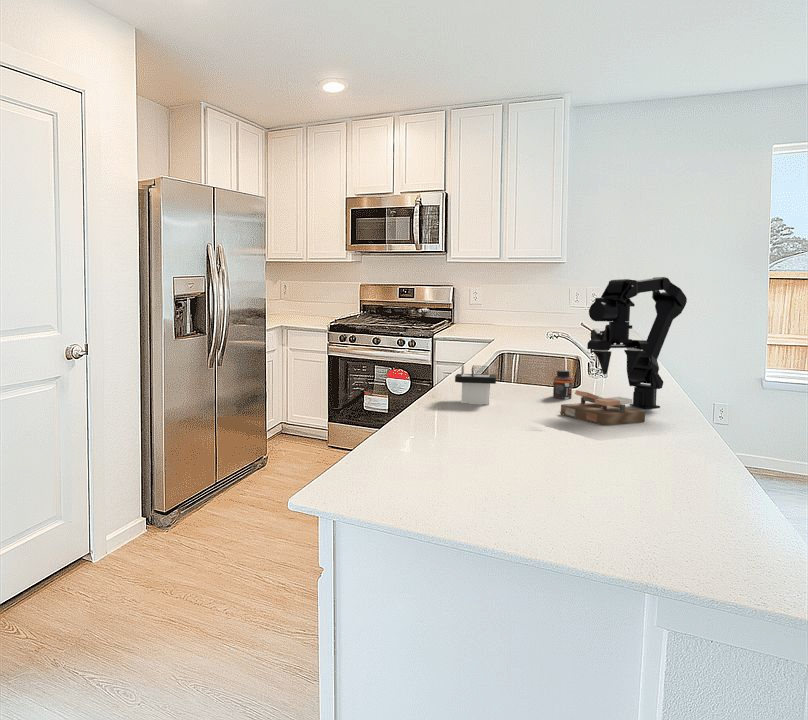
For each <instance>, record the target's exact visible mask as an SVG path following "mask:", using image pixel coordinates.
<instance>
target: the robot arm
mask: <svg viewBox="0 0 808 720" xmlns="http://www.w3.org/2000/svg"><path fill="white" fill-rule="evenodd" d="M661 291H663V292H661ZM647 292H652V296H651V298H652V300H653V301H654V302H655V305H654V307H655V312H656V316H655V318H654V320H653V324H652V326H651V328H650V331H649V333H648V336H647V339H646V340H644V339H642V340H640V339H632V338H630V330H632V329H633V325H631V324H630V322H631V321H630V319H631V318H630V315H631V308H632V307H635V302H633V301H632V299H631V298H634V297H636V296H638V294H640V293H647ZM687 299H688V298H687V296H686V294H685V293H684V291H683V290H682V289H681V288H680V287H679V286H677V285H676V284H674V283H673V282H671V280H670V279H669V278H668V277H666V276H658V277H657V276H656V277H652V278H647V279H646V278H645V279H639V280H637V279H631V278H624V279H623V278H622V279H619V278H618V279H611V280H609V281H608V284H607V285H606V287H605V289H604V291H603V293H602V295H601V296H600V297H595V299H594V302H593V303H592V304H591V305H590V307H589V309H588V315H589V318H590V320H591V321H594V322H608V324H605V327H604V328H605V329H604V330H600V329H595V328H594V329H592V330H590V339H589V341H588V342H587V344H586V345H587V350H590V352H591V353H594V355H595V356H596V357H597V360H598V363H599V365H600V369H601V371H602V372H601V373H602V375H607V374H608V371H609V367H610V362H611V357H612V351H610V350H611V349H624V353H625V355H626V375H627V380H628V386H629V387H633V389H634V390H633V396H632V403H631V404H629V405H630V406H632V407H637V408H641V409H655V408H657V407H658V408H660V407H661V406H660V405H657V391H658V390H660V389H662V388H663V385H664V380H663V379H662V377H661V376H660V374H659V370H660V366H659V363H658V358H659V355H660V354H661V351H662V347H663V346H664V343H665V340H666V338H667V336H668V333H669V331H670V328H671V325H672V324H673V321H674V320H675V319H676V318H677V317H678V316H680V315H681V314H682V313H683V310H684V309H685V307H686V305H687V302H688V300H687Z"/></svg>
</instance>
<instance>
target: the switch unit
mask: <svg viewBox="0 0 808 720" xmlns="http://www.w3.org/2000/svg"><path fill="white" fill-rule="evenodd" d="M583 398H584V397H582V396H580V403H578V402H577V403H565V404H560V415H561V414H564V415H563V416H565V415H566V416H565V417H569V418H574V419H578V420H582V421H585V422H590V423H592V424H593V423H594V424H598V425H602V426H608V425H609V426H610V425H619V424H620V425H621V424H633V423H642V422H643V423H644V422H645V421H646V410H641V409H637V408H631V407H627V406H626V404H622V405H620V408H617V407H613V406H604V405H599V404H595V403H593V402H586V401H584V400H583Z"/></svg>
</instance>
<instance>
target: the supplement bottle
mask: <svg viewBox="0 0 808 720" xmlns="http://www.w3.org/2000/svg"><path fill="white" fill-rule="evenodd" d="M572 389H573V379H572V377H570V371H569V370H566V369H565V370H564V369H563V370H562V369H561V370H556V376H554V377H553V390H552V398H554V399H556V400H557V399H558V400H572V397H573V394H572V393H573V390H572Z"/></svg>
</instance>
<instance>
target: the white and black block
mask: <svg viewBox="0 0 808 720" xmlns="http://www.w3.org/2000/svg"><path fill="white" fill-rule="evenodd" d="M490 367H491V366H490V365H472V367H471V373H465V364H463V365H462V366H461V369H460V373H457V374H456V375H455V376H454V383H461V404H462V403H469V404H468V405H482V404H487V405H486V406H490V401H491V400H490V399H491V397H490V396H491V384H494V385H495V384H496V385H497V374H494V373H492V374H491V372H490ZM479 369H480V370H479ZM487 369H488V370H487ZM482 371H483V372H482Z"/></svg>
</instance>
